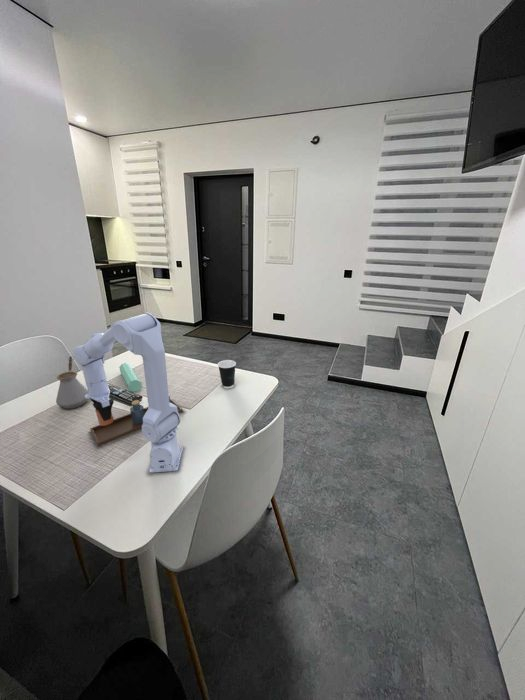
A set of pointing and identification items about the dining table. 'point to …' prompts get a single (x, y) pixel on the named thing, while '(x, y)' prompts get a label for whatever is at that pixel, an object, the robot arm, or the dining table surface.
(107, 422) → the terracotta bottle
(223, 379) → the dixie cup
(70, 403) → the coffee pot
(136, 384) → the container
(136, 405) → the blue bottle middle
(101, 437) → the tray
